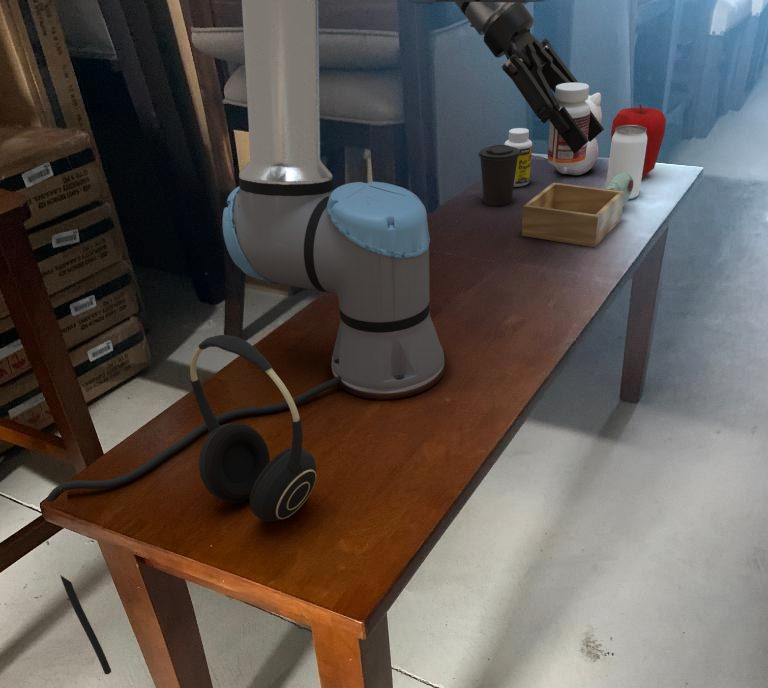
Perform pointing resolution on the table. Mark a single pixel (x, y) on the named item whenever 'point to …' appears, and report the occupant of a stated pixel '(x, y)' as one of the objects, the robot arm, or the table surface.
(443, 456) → the table surface
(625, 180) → the green rounded faceted piece
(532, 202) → the holder
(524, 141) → the supplement bottle
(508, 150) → the coffee cup
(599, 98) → the cat figurine
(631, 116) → the apple
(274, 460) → the headphones
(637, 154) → the can
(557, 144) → the pill bottle
